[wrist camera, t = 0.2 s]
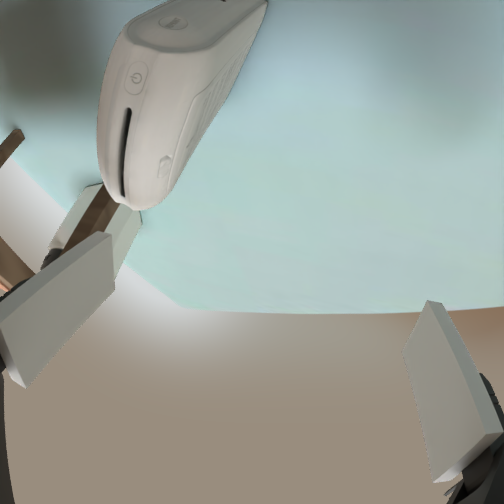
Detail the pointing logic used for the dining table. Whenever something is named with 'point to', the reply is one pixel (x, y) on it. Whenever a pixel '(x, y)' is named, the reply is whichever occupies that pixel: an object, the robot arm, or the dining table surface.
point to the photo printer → (168, 91)
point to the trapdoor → (4, 287)
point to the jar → (120, 227)
